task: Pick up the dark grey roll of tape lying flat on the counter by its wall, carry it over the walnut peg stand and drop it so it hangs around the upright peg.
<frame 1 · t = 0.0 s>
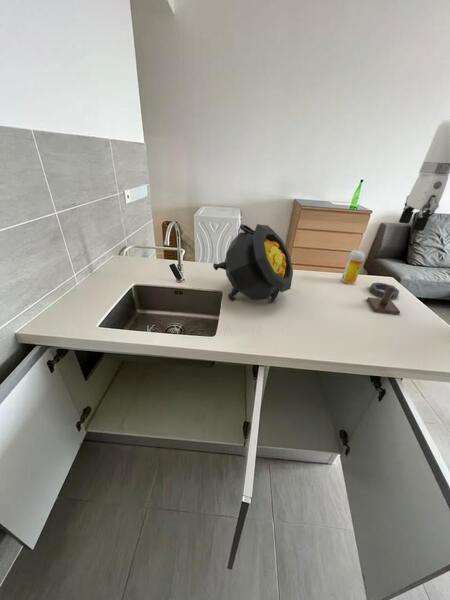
hand: (410, 226, 83), 32 cm above the worktop, tool pointing down, fingers open, 9 cm apart
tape: (382, 293, 109), on the worktop
cauldron: (250, 295, 101), on the worktop
beer can: (347, 282, 117), on the worktop
peg stand: (382, 307, 98), on the worktop
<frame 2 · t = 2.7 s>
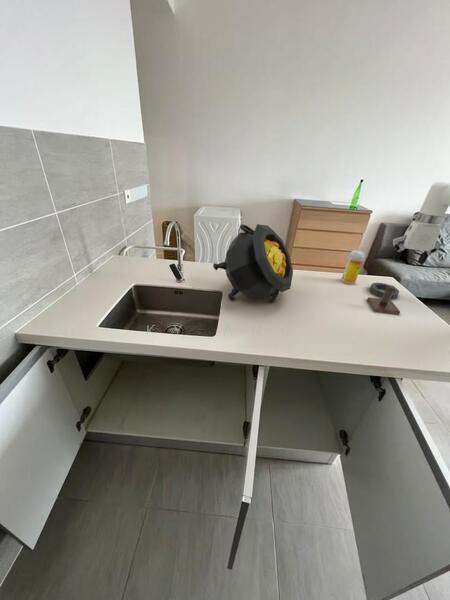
hand: (407, 261, 99), 16 cm above the worktop, tool pointing down, fingers open, 9 cm apart
nothing on the worktop moved.
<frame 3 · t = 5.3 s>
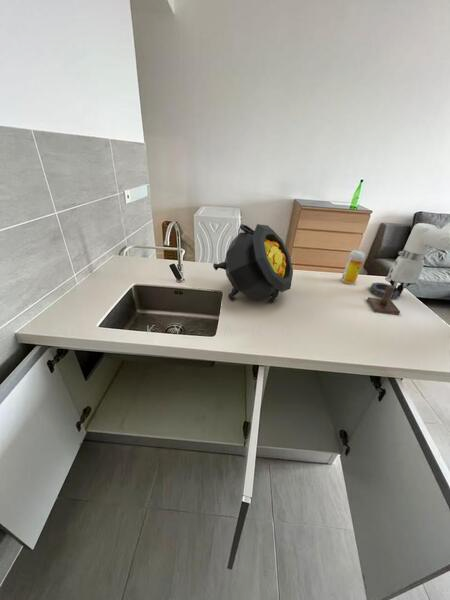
hand: (393, 294, 108), 0 cm above the worktop, tool pointing down, fingers closed on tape, 2 cm apart
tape: (383, 293, 109), on the worktop, touching gripper
everything else where it was.
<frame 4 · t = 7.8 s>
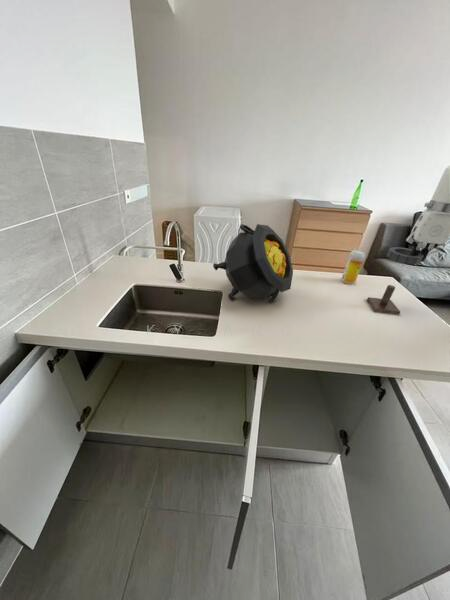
hand: (416, 259, 90), 20 cm above the worktop, tool pointing down, fingers closed on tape
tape: (403, 258, 90), point 20 cm above the worktop, touching gripper
everything else where it was.
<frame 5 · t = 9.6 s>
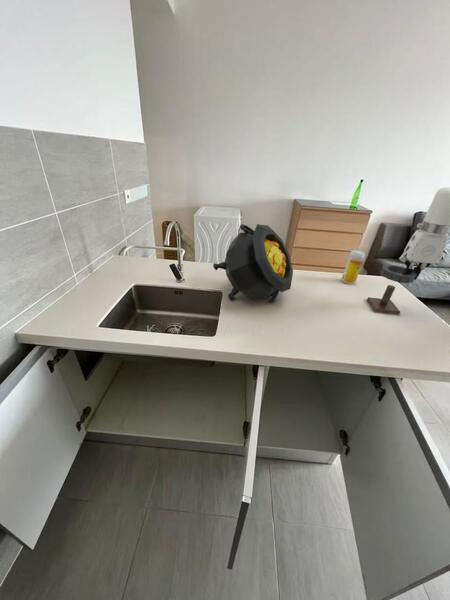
hand: (409, 277, 90), 14 cm above the worktop, tool pointing down, fingers closed on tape
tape: (396, 276, 91), point 14 cm above the worktop, touching gripper
everything else where it was.
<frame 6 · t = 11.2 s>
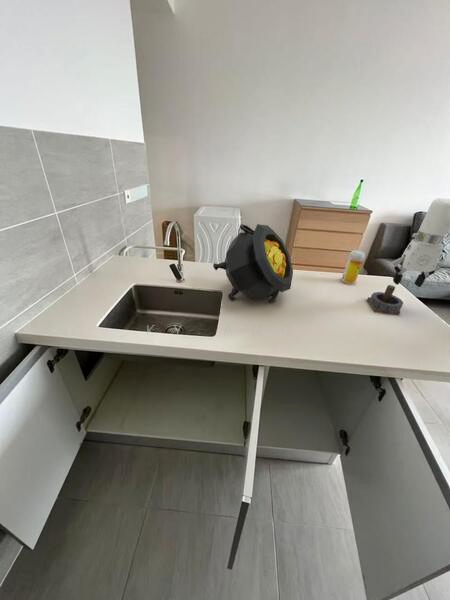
hand: (406, 283, 92), 11 cm above the worktop, tool pointing down, fingers open, 7 cm apart
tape: (384, 304, 97), point 1 cm above the worktop, touching peg stand
everything else where it was.
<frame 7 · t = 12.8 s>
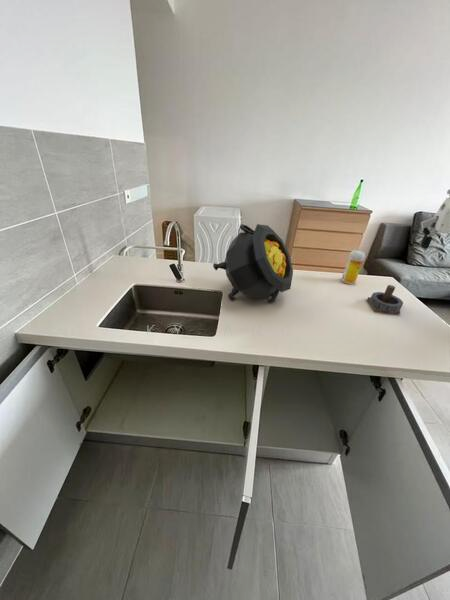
hand: (439, 248, 82), 26 cm above the worktop, tool pointing down, fingers open, 9 cm apart
nothing on the worktop moved.
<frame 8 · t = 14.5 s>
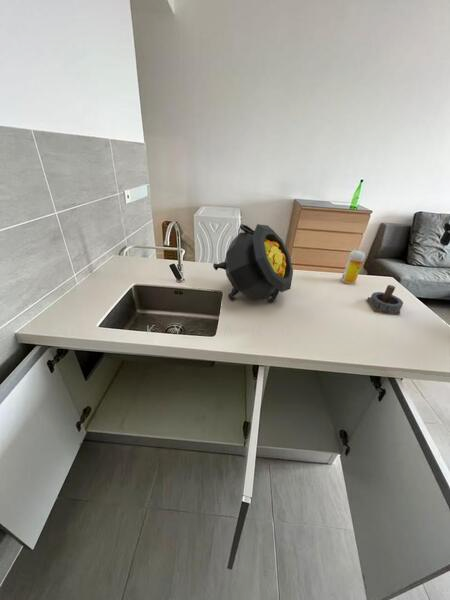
nothing on the worktop moved.
at the end: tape 0.5 cm from the peg stand (horizontally); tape point 1.5 cm above the worktop; the gripper is holding nothing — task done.
